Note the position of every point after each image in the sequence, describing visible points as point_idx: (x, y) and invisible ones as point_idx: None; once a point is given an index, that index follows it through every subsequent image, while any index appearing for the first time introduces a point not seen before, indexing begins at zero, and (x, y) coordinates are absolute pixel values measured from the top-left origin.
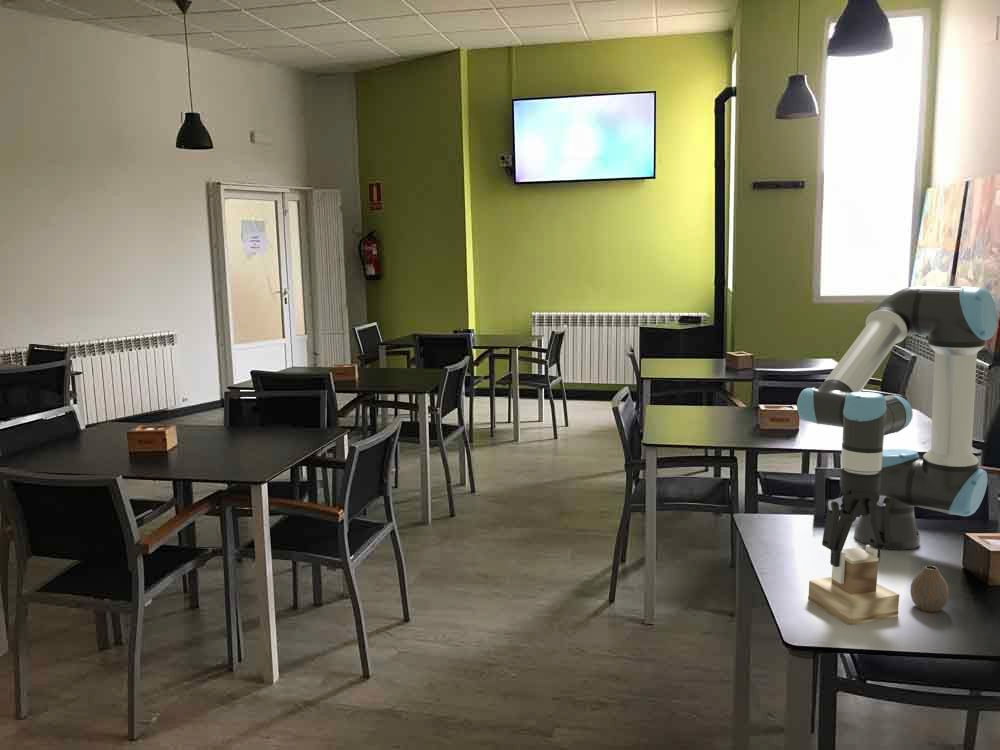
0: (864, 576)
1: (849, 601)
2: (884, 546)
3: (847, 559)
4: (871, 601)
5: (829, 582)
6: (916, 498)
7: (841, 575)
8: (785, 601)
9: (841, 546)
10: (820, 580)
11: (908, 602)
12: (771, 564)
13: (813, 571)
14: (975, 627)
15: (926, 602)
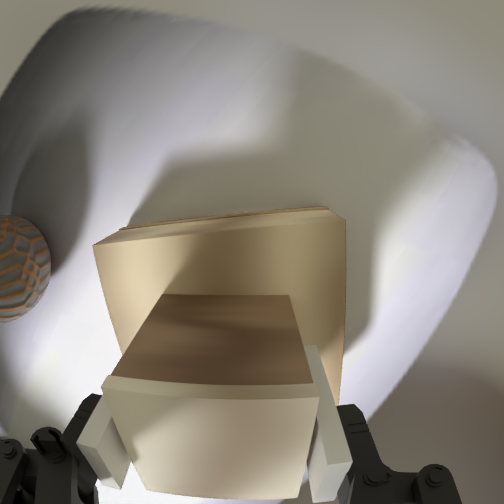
0: (215, 333)
1: (341, 235)
2: (34, 436)
3: (312, 425)
4: (233, 227)
5: None
6: None
7: (320, 368)
8: (377, 377)
9: (366, 496)
10: None
11: (56, 296)
12: None
13: None
14: (4, 129)
15: (30, 230)
